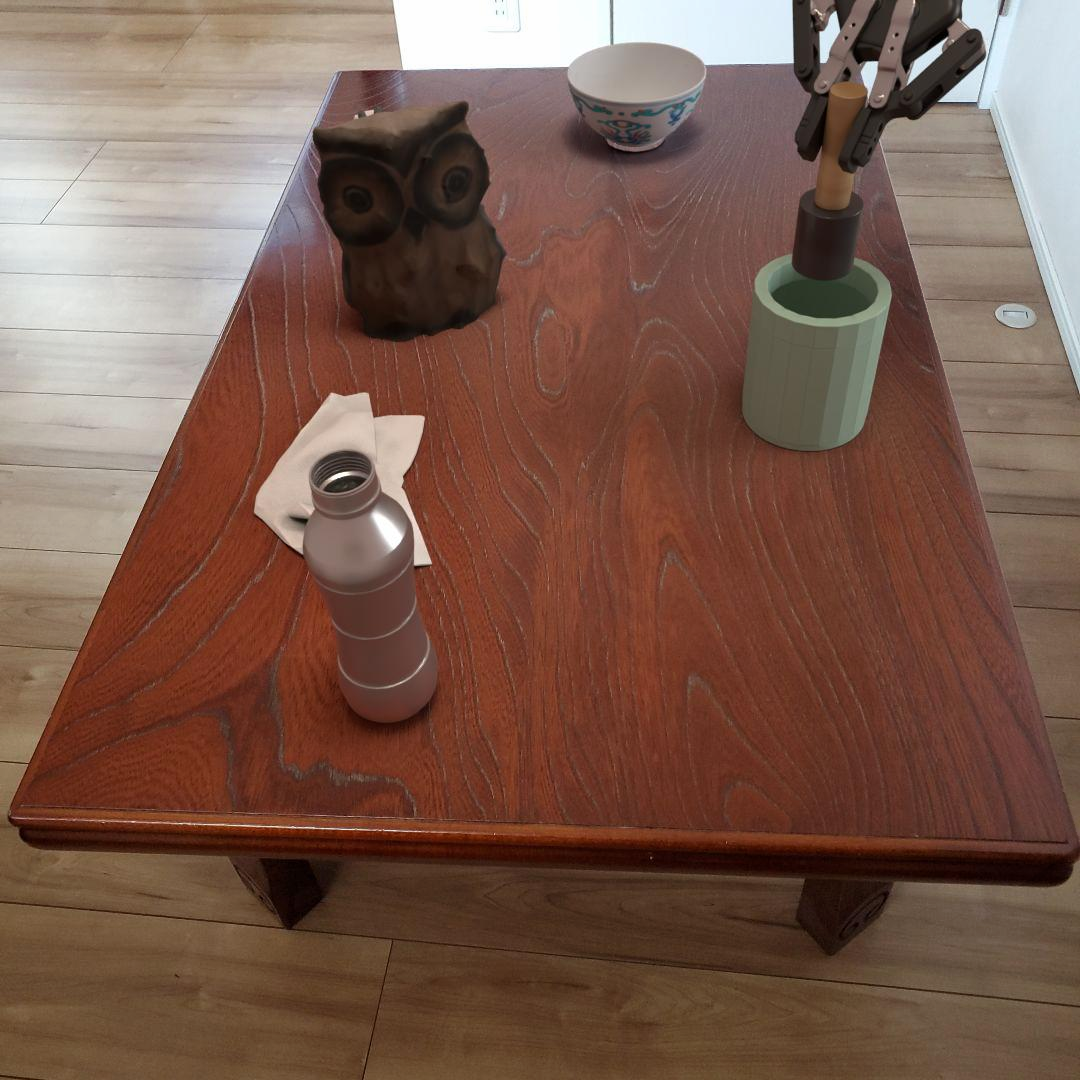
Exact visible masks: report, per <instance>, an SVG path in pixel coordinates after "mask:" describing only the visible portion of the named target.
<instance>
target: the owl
mask: <svg viewBox="0 0 1080 1080" xmlns="http://www.w3.org/2000/svg"><path fill="white" fill-rule="evenodd" d="M469 108H470V103H469V102H468V101H466V100H460V101H451V102H444V103H441V104H440V103H439V104H433V105H418V106H410V107H403V108H400V109H397V110H395V111H382V112H379V113H375V114H372V115H369V116H365V117H361V118H357V119H354V118H353V119H354V120H353V119H350V120H348V121H346V122H343V123H339V124H336V125H331V126H329V127H322V126H318V125H316V126H314V128H313V130H312V132H311V133H312V142H313V145H314V147H315V149H316V151H317V153H318V157H319V159H320V161H319V162H320V170H319V173H318V175H317V176H318V177H317V182H316V183H317V185H316V187H317V189H318V192H319V200H320V202H321V204H322V205H323V210H322V215H323V217H324V219H325V221H326V222H327V224H328V226H329V228H330V230H331V232H332V234H333V235H334V237H335V238H336V239H337V241H338V243H339V246H340V248H341V251H342V252H341V253H342V255H341V256H342V257H341V281H342V292H343V297H344V300H345V302H346V304H347V305H348V306H349V307H350V308H352V309H354V310H356V311H357V312H358V314H359V316H360V317H361V321H362V322H361V323H362V332H363V334H364V335H365V336H366V337H369V338H377V339H379V340H387V341H393V342H407V341H410V340H412V339H414V338H415V337H418V336H421V335H422V334H426V335H428V336H430V337H431V336H434V335H437V334H438V333H440V332H442V331H445V330H450V329H452V328H453V329H456V330H461V329H463V328H465V327H466V326H467V325H469V324H471V323H473V322H475V321H476V320H478V317H479V316H480V315H481V314H483V312H485V311H486V310H487V309H489V308H490V307H491V306H493V305H495V304H497V298H496V292H497V288H498V285H499V281H500V277H501V271H502V267H503V266H502V265H503V262H504V259H505V258H506V256H507V254H508V253H507V250H506V249H505V247H504V245H503V243H502V241H501V238H500V236H499V235H498V233H497V229H496V228H495V227H494V225H493V222H492V220H491V219H490V218H489V215H488V214H487V213H486V210H485V205H484V204H482V201H483V198H484V197H485V195H486V194H487V191H488V190H489V187H490V186H491V184H492V183H491V180H490V174H491V171H490V165H489V163H488V160H487V159H488V158H487V157H486V154H485V148H483V147H482V146H481V145H480V144H479V142H478V141H477V139H476V137H475V136H474V134H473V132H472V131H471V129H470V128H469V125H468V123H467V115H468V113H469V110H470V109H469Z"/></svg>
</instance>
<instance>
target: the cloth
mask: <svg viewBox="0 0 1080 1080" xmlns="http://www.w3.org/2000/svg"><path fill="white" fill-rule="evenodd" d="M425 419H426V417H425V416H423V415H421V414H416V415H415V414H410V415H409V414H408V415H407V414H404V415H403V414H401V415H400V414H399V415H397V414H394V415H393V414H391V415H390V414H388V415H382V416H376V417H374V413H373V410H372V404H371V399H370V393H369V392H358V393H354V394H350V395H345V396H344V395H341V394H338V393H335V392H330V393H329V395H328V396H327V397H326V398H325V400H324V401H323V403H322V404H321V406H320V407H319V408H318V410H317V411H316V412H315V414H314V415H313V416H312V418H311V419H310V420H309V421H308V423H306V424H305V426H304V427H303V428H302V429H301V430H300V432H299V433H298V434H297V435H296V437H295V438H294V440H293V441H292V443H290V445H289V447H288V448H287V449H286V450H285V452H284V453H283V454H282V456H281V457H280V458H279V459H278V461H277V462H276V464H275V465H274V467H273V469H272V471H271V472H270V474H269V475H268V477H267V478H266V479H265V481H264V482H263V484H262V485H261V486H260V487H259V489H258V492H257V494H256V495H255V500H254V501H255V502H254V510H253V513H254V514H255V516H257V517H258V518H259V519H261V520H262V521H263V522H264V523H265V524H266V525H267V526H268V527H269V528H270V529H271V531H273V532H274V533H275V534H276V535H277V537H279V538H280V540H282V541H283V543H285V544H287V545H288V546H289V547H291V548H292V549H294V550H295V551H296V552H298V553H299V554H301V555H303V548H302V547H303V538H304V530H305V527H306V524H307V522H308V520H309V518H310V516H311V514H312V512H313V511H314V509H315V507H314V505H313V502H312V497H311V492H312V491H311V488H310V484H309V471H310V469H311V467H312V465H313V464H314V463H315V462H316V461H317V460H318V459H319V458H321V457H322V456H324V455H325V454H327V453H330V452H333V451H336V450H341V449H354V450H359V451H362V452H364V453H366V454H367V455H368V456H369V457H370V458H371V459H372V461H373V463H374V465H375V469H376V474H377V476H378V478H379V479H380V484H381V488H382V492H384V493H385V494H387V495H388V496H390V497H391V498H393V499H394V500H396V501H397V502H398V503H399V504H400V505H401V506H402V507H403V509H404V510H405V512H406V514H407V515H408V517H409V519H410V521H411V522H412V526H413V531H414V567H419V566H432V565H433V562H432V560H431V557H430V554H429V552H428V549H427V546H426V543H425V540H424V538H423V535H422V532H421V530H420V527H419V525H418V523H417V521H416V520H417V519H416V517H415V516H414V513H413V510H412V507H411V505H410V502H409V500H408V496H407V493H406V491H405V490H404V489H403V484H404V481H405V480H404V476H405V474H406V473H407V472H408V471H409V469H410V468H411V466H412V464H413V462H414V459H415V458H416V455H417V453H418V450H419V447H420V443H421V439H422V438H423V434H424V433H423V432H424V426H425V421H426V420H425Z"/></svg>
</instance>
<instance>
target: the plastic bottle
mask: <svg viewBox="0 0 1080 1080" xmlns="http://www.w3.org/2000/svg"><path fill="white" fill-rule="evenodd" d="M309 484H310V488H311V491H312V492H311V497H312V502H313V505H314V507H315V509H314V511H313V512H312V514H311V516H310V518H309V520H308V522H307V524H306V527H305V530H304V538H303V547H302V548H303V554H302V555H303V558H304V560H305V563H306V566H307V569H308V571H309V573H310V575H311V577H312V579H313V580H314V583H315V585H316V586H317V589H318V590H319V592H320V594H321V596H322V598H323V600H324V603H325V606H326V608H327V611H328V614H329V616H330V620H331V623H332V625H333V629H334V635H335V642H336V649H337V662H336V667H337V679H338V684H339V685H338V686H339V689H340V691H341V693H342V695H343V697H344V699H345V700H346V702H347V704H348V705H349V707H350V708H351V709H352V710H353V712H355V713H356V714H357V715H358V716H360V717H361V718H363V719H365V720H368V721H371V722H376V723H381V724H392V723H398V722H401V721H405V720H407V719H409V718H411V717H413V716H414V715H416V714H417V713H419V711H420V710H422V709H423V708H424V707H425V706H426V705H427V704H428V703H429V701H430V700H431V699H432V697H433V695H434V693H435V691H436V689H437V685H438V673H439V660H438V656H437V652H436V650H435V647H434V644H433V642H432V640H431V638H430V636H429V634H428V632H427V631H426V628H425V625H424V622H423V619H422V615H421V613H420V609H419V606H418V599H417V590H416V582H415V566H414V531H413V526H412V522H411V521H410V519H409V517H408V515H407V514H406V512H405V510H404V509H403V507H402V506H401V505H400V504H399V503H398V502H397V501H396V500H394V499H393V498H391V497H390V496H388V495H387V494H385V493H384V492H382V488H381V484H380V479H379V478H378V476H377V474H376V469H375V465H374V463H373V461H372V459H371V458H370V457H369V456H368V455H367V454H366V453H364V452H362V451H359V450H354V449H341V450H336V451H333V452H330V453H327V454H325V455H324V456H322V457H321V458H319V459H318V460H317V461H316V462H315V463H314V464H313V465H312V467H311V469H310V471H309Z"/></svg>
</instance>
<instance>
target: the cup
mask: <svg viewBox="0 0 1080 1080" xmlns="http://www.w3.org/2000/svg"><path fill="white" fill-rule="evenodd" d="M792 254H793V252H791V253H788V254H785V255H782V256H780V257H776V258H774V259H772V260H771V261H769V262H768V263H766V265H764V266H763V267H762V268H760V269H759V271H758V273H757V274H756V276H755V278H754V279H753V280H754V281H753V290H752V301H751V308H750V318H749V329H748V339H747V340H748V341H747V347H746V348H747V349H746V359H745V366H744V378H743V387H742V396H741V401H742V402H741V413H742V416H743V420H744V421H745V423H746V426H748V427H749V429H750V430H751V431H752V432H753V433H754V434H755V435H757V436H758V437H759V438H760V439H762V440H764V441H766V442H768V443H770V444H772V445H774V446H778V447H780V448H783V449H787V450H793V451H799V452H820V451H821V452H822V451H826V450H832V449H835V448H839V447H840V446H843V445H845V444H847V443H849V442H850V441H852V440H853V439H855V438H856V437H857V435H859V434H860V432H861V431H862V429H863V428H864V425H865V423H866V418H867V415H868V412H869V407H870V404H871V403H870V402H871V398H872V392H873V388H874V384H875V377H876V374H877V368H878V364H879V360H880V359H879V358H880V354H881V350H882V345H883V340H884V335H885V331H886V325H887V322H888V321H887V320H888V315H889V311H890V306H891V301H892V297H893V296H892V295H893V293H892V288H891V283H890V280H889V279H888V278H887V277H886V275H885V274H884V273H883V272H882V271H881V270H880V269H879V268H877V267H875V266H874V265H873V264H871V263H869V262H868V261H866V260H863V259H860V258H858V257H855V259H854V265H853V269H852V271H851V272H850V273H849V274H848V275H847V276H845V277H843V278H840V279H837V280H831V281H819V280H813V279H809V278H806V277H804V276H802V275H800V274H799V273H797V272H796V271H795V270H794V268H793V266H792Z"/></svg>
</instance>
